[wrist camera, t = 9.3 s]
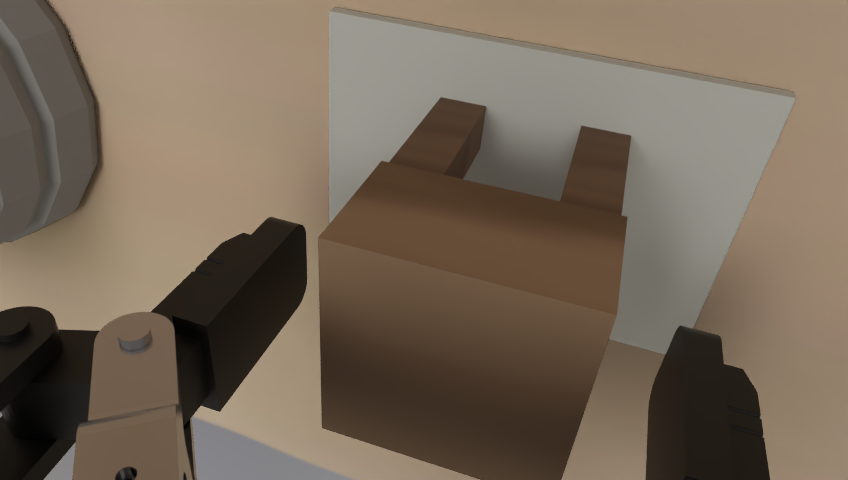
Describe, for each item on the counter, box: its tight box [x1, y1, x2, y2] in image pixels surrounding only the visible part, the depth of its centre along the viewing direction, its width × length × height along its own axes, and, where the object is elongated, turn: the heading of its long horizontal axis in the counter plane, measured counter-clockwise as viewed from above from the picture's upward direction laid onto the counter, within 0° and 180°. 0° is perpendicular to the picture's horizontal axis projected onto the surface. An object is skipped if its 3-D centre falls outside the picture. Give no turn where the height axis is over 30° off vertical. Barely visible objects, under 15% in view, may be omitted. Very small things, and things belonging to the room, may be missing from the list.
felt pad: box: [329, 7, 796, 355], centre depth 17 cm, size 8×11×1 cm
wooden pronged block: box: [318, 97, 631, 480], centre depth 15 cm, size 5×5×7 cm
